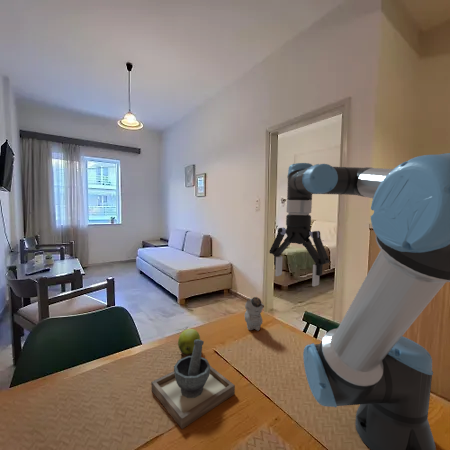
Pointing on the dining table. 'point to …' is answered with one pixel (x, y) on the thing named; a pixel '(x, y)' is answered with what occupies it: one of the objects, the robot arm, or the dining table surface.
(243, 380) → the dining table surface
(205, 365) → the mortar and pestle
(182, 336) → the apple
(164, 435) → the dining table surface
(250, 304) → the figurine
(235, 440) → the dining table surface
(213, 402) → the grey sand tray
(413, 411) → the robot arm
